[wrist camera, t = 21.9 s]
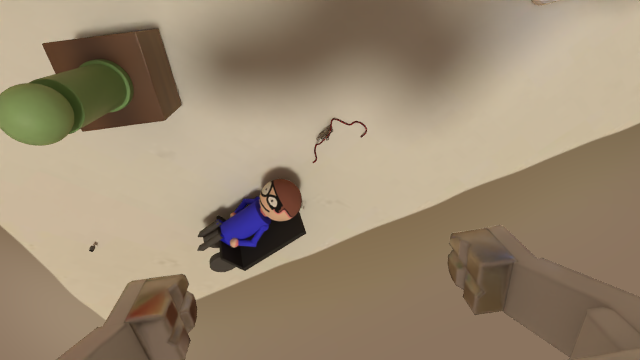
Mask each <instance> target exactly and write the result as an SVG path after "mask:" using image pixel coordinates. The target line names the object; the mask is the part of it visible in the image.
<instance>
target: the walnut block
mask: <svg viewBox="0 0 640 360" xmlns="http://www.w3.org/2000/svg"><path fill="white" fill-rule="evenodd" d="M42 45H43V47H44V49H45V52H46V54H47V56H48V58H49V60H50V62H51V65H52V67H53V69H54V71H55V73H56V74H58V73H62V72H65V71H69V70H73V69H76V68H79V67H80V66H81V65H82V64H83V63H85V62H87V61H91V60H95V59H104V60H108V61H111V62H114V63H115V64H117V65H119V66H120V67H121V68H122V69H124V70H125V72H126V73H127V74H128V75H129V77H130V79H131V81H132V84H133V89H134V93H133V98H132V100H131V102H130V103H129V104H128V105H127V106H126V107H124V108H123V109H121V110H119V111H116V112H109V113H107V114H105V115H103V116H102V117H100V118H98V119H96V120H95V121H93V122H91V123H90V124H88V125H86V126H84V127H83V128H81V129H82V131H91V130H98V129H105V128H113V127H120V126H127V125H135V124H142V123H150V122H157V121H164V120H166V119H167V118H168V117H169V116H170V115H171V114H172V113H174V112H175V111H176V110H177V109H178V108H179V107H180V106H181V105H182V104H181V101H180V98H179V95H178V91H177V88H176V85H175V82H174V78H173V75H172V72H171V69H170V65H169V62H168V59H167V56H166V52H165V49H164V46H163V42H162V39H161V36H160V33H159V29H150V30H142V31H135V32H127V33H119V34H111V35H103V36H95V37H87V38H79V39H72V40H64V41H57V42H49V43H43V44H42Z"/></svg>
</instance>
